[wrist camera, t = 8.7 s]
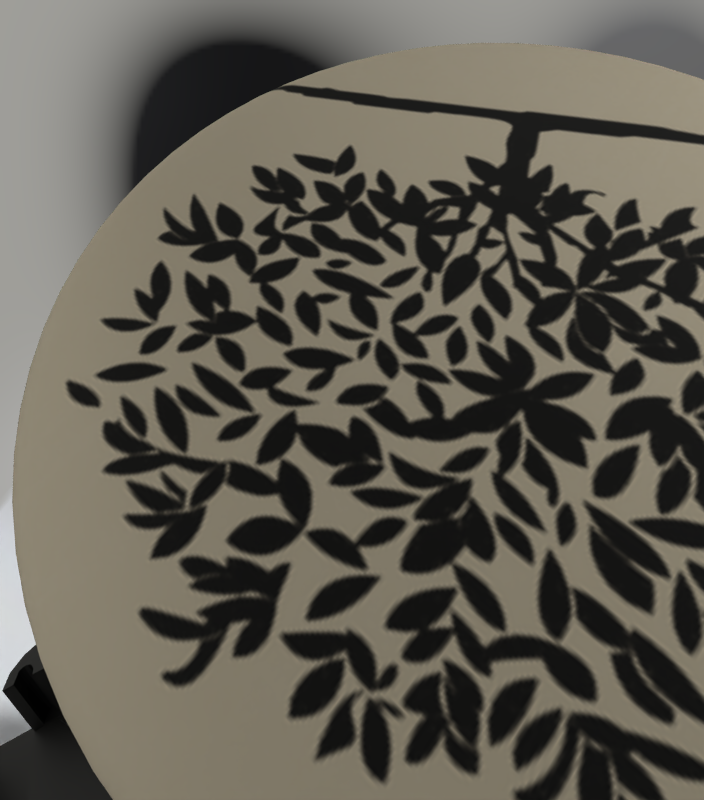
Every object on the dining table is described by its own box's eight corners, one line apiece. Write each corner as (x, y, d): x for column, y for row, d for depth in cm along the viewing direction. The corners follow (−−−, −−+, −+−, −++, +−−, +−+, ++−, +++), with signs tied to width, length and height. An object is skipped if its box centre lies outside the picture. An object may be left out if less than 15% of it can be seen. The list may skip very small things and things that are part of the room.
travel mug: (458, 682, 18) (1533, 2071, 1) (283, 592, 19) (-299, 638, 3) (515, 497, 20) (1102, 112, 4) (357, 433, 22) (276, -31, 5)
